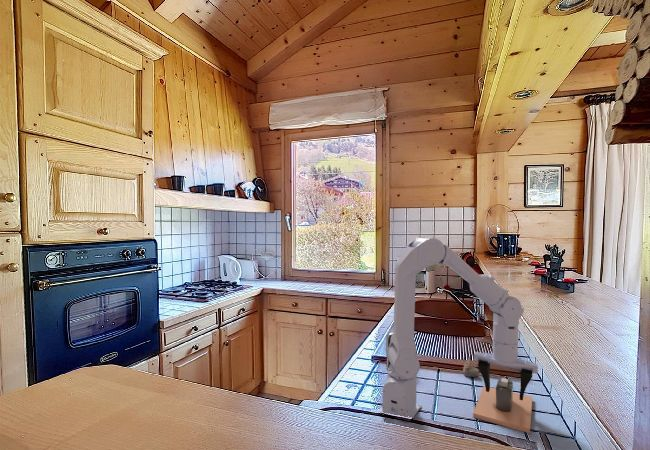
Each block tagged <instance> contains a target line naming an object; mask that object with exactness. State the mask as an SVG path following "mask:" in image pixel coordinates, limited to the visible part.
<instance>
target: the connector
mask: <svg viewBox="0 0 650 450" xmlns="http://www.w3.org/2000/svg"><path fill="white" fill-rule="evenodd" d="M513 387H514V383H513V381H511V380H510V379H508V378H503V377H501V378H499V379H498V380H497V383H496V385H495V388H496V409H498V410H499V411H502V412H510V411H511V407H512V400H513V391H514V390H513V389H514V388H513Z"/></svg>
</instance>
